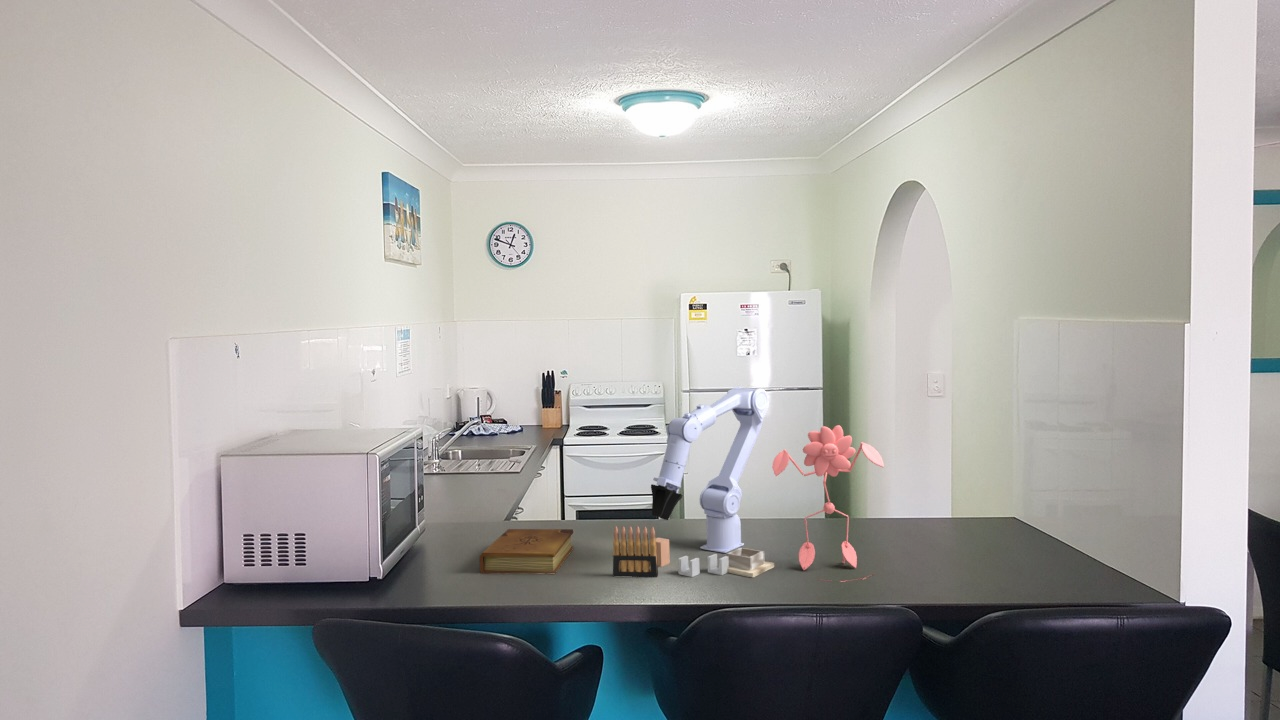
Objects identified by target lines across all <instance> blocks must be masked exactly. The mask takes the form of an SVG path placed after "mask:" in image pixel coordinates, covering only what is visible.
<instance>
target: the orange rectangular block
mask: <svg viewBox="0 0 1280 720" xmlns="http://www.w3.org/2000/svg"><path fill="white" fill-rule="evenodd" d="M655 538H656V547H657V565H658V567H661V568H662V567H664V566H666V565H669V564H670V563H671V561H670V560H671V557H670V551H671V550H670V539H668V538H665V537H664V538H663V537H655Z"/></svg>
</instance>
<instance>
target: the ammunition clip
mask: <svg viewBox="0 0 1280 720" xmlns="http://www.w3.org/2000/svg"><path fill="white" fill-rule="evenodd" d="M625 528H626V527H625V526H624V525H623V526H622V527H621V531H620V532H621V533H619V530H618V527H617V525H615V527H614V529H613V543H612V546H613V549H612V551H613V554H612V555H613V556H612V562H613V563H612V577H614V576H632V577H631V578H658V576H659V566H658V565H657V547H656V538H657V537H656V531H655V528H654V526H651V528H650V535H649V534H648V529H647V527H646V525H645V526H644V528H643V531H642V532H643V533H642V538H641V530H640V527H639V526H636V529H635V541H634V532H633V528H632V526H631V525H630V526H629V528H628V531H627V532H628V533H627V532H626V529H625ZM626 533H627V534H628V535H627V534H626ZM619 534H620V536H619ZM627 536H628V537H627ZM649 536H650V538H649ZM641 539H642V541H641Z"/></svg>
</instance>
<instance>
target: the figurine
mask: <svg viewBox="0 0 1280 720" xmlns="http://www.w3.org/2000/svg"><path fill="white" fill-rule="evenodd" d="M807 437H808V439H809V441H810V443H806V445H805V446H804V447H803V448H802V452H803V453H804V454H805V457H804V459H803V464H804V466H806V467H810V466H811V467H812V466H814V471H810V472H807V473H806V472H805V473H804V471H803V470H802V469H801V467H800V466H798V464H797V463H796V462H795V460H794V458H792V456H791V455H790V454H789V453H788V451H787V449H783V450H781V451H780V452H778V454H777V455H776V456H775V457H774V459H773V461H772V471H773V474H774V476H775V477H777V476H779V475H780V474H781V473H782V472H783V471H785V470H786V468H787V467H788V465H789V462H790V461H791V463H792V464H793V465H794V466H795V467H796V469H797V470H798V471H799V472H800V474H801V475H802V476H803V477H806V476H807V477H808V476H810V475H813V474H814V475H816V476H817V477H822V476H824V478H823V481H822V482H823V483H822V484H823V487H824V492H825V496H826V498H827V502H826V503H824V504H823V509H822V510H820V511H816V512H814V513H812V514H809V515H807V516H805V517H804V524H805V525H804V526H805V536H806V537H805V538H806V542H804V543H803V544H802V545H801V546H800V548H799V551H798V561H799V564H800V566H801V567H800V568H802V570H803V571H805V570H807V569H808V568H809V567H810V566H811V565H812V564H813V562H814V560H815V558H816V557H815V556H816V550H815V545H814V544H813V543H812V542H809V533H808V522H807V519H808V518H810V517H813V516H815V515H817V514H820V513H823V512H824V513H826V514H828V515H831V514H833V513H834V512H836V513H838V514H840V515H843V516H844V517H846V540H844V541H842V543H841V545H840V546H841V547H840V548H841V552H842V564H845V563H846V562H847V563H848V564H850V566H852V567H853V568H854V569H857V564H858V563H857V562H858V560H857V559H858V557H857V552H856V550H855V548H854V546H852V544H850V542H848V540H849V521H850V520H849V519H850V517H849V515H848V514H845V513H843V512H842V511H839V510H837V509H836V508H835V507H836V506H835V505H834V503H832V502H831V499H830V497H829V493H828V489H827V488H828V487H827V485H826V482H827V478H828V475H829V476H831V477H833V478H834V477H838V475H839V472H843V473H844V472H845V473H851V471H852V470H853V467H854V465H855V464H856V462H857V459H858V457H859V455H860V452H861V451H862V453H863V455H864V456H865V457H866V458H867V460H869V461H870V462H871V463H872V464H874V465H876V466H879V467H880V468H885V464H884V461H883V458H882V455H880V453H879V451H878V450H876V449H875V447H873V446H872V445H870V444H869V443H865V442H863V441H861V442H860V445H859V446H858V447H859V448H858V450H857V451H856V448H854V447H851V446H852V442H853V438H852V436H851V435H846V436H844V430H843V428H842V426H841V425H835V426H834V427H833V428H832V429H831V428H829V427H827V426H824V425H823V426H821V427H820V431H817V430H811V431H809V432H808V433H807ZM852 457H854V459H853V460H852V463H851V461H849V460H848V459H850V458H852ZM873 575H875V573H872V574H871V575H868V576H866V577H865V576H864V577H861V578H857V579H854V581H858V580H865V579H868V578H869V577H871V576H873ZM816 581H819V579H816ZM820 581H824V582H831V580H830V579H829V580H826V579H820ZM849 581H850V582H851V581H852V579H847V580H846V579H845V580H840V583H843V582H849Z"/></svg>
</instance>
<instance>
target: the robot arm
mask: <svg viewBox="0 0 1280 720" xmlns="http://www.w3.org/2000/svg"><path fill="white" fill-rule="evenodd" d="M769 407H770V399H769V396H768V392H767V391H766V390H765V389H763V388H760V387H759V388H749V387H748V388H747V387H739V386H735V387H733V388H732V389H729V390H728V391H727V392H726V394H724V395H723V396H722V397H721V398H718V400H716V401H715V402H713V403H712V404H710V405H707V404H698V405H697V406H696V408H695V409H694V410H692V411H690V412H686V413H684V414H683V416H682V417H674V418H673V419H672V420H670V422H669V423H668V424H667V425H666V434H667V439H666V449H665V453H664V457H663V460H662V463H661V468H660V471H659V475H658V477H653V481H654V482H656V484H654V483H653V484H651V485H650V489H651V494H652V496H651V498H652V502H651V503H652V504H651V516H653V517H658V518H659V519H661V520H664V521H668V520H669V519H670V517H671V515H672V513H673V511H674V509H675V507H676V506H677V504H678V503H679V502H680V500H681V499H682V498H683V494H681V493H679V491H680V489H681V487H682V481H683V477H684V474H685V473H684V472H685V469H686V465H687V462H688V457H689V454H690V451H691V447H692V442H696V441H697V440H698V439H699V436H700V434H701V433H702V432H703V431H705V430H707V429H708V428H710V427H712V426H713V425H715V424H716V421H717V418H718V417H720V416H722V415H724V414H726V413H728V412H730V411H732V413H733V415H734V416H735V418H736V420H737V421H738V422H739V427H738V430H737V432H736V435H735V436H734V439H733V441H732V443H731V446H730V449H729V450H728V453H727V455H726V458H725V460H724V462H723V465H722V467H721V470H720V472H719V474H718V476H716V477H714V478H712V479H711V480H709V481H708V483H707V485H706V487H705V488H704V489H703V490H702V491H701V493H700V496H699V505H700V508H701V509H702V510H703V511H704V512H703V513H704V514H705V515H706V517H705V519H706V521H705V522H706V544H704V545H702V546H700V550H701V549H702V550H706V551H710V552H715V553H716V552H717V553H723V554H727V553H729V552H731V551H733V550H736V549H738V548H740V547H742V546H743V547H744V546H745V543H744V542H742V530H741V529H742V528H741V527H742V525H741V523H742V522H741V518H740V516H739V515H738V514H737V513H738V511H739V509H740V506H741V499H742V495H743V490H742V489H741V487H740V486H739V484H738V483H739V482H740V479H741V477H742V475H743V472H744V470H745V467H746V465H747V463H748V460H749V458H750V455H751V453H752V450H753V448H754V446H755V444H756V442H757V438H759V434H760V432H761V429H762V427H763V422H764V419H765V416H766V414H767V412H768V409H769Z"/></svg>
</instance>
